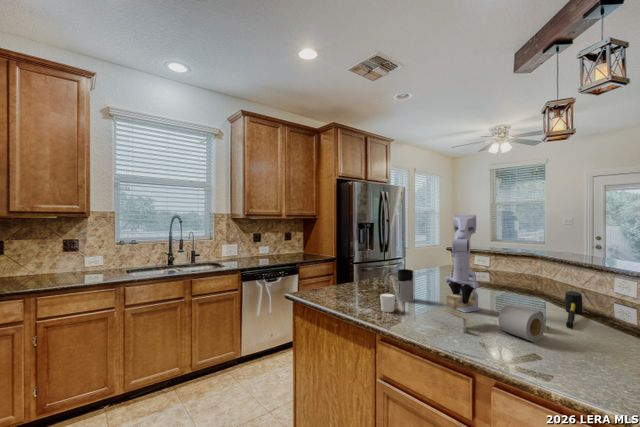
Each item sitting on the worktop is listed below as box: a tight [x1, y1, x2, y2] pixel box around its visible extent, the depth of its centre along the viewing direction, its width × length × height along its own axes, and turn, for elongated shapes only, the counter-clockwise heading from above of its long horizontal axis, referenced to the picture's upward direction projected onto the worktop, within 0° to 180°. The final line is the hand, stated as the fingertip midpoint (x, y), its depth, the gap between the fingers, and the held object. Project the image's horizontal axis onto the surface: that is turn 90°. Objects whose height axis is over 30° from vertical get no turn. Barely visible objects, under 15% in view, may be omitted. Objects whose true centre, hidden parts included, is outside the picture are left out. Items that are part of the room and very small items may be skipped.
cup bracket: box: [430, 306, 467, 334], centre depth 123 cm, size 16×5×5 cm, turn 25°
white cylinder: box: [516, 304, 544, 318], centre depth 122 cm, size 11×8×8 cm
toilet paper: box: [498, 304, 546, 343], centre depth 111 cm, size 10×10×10 cm
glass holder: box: [385, 268, 415, 303], centre depth 159 cm, size 9×14×15 cm, turn 89°
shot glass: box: [379, 292, 396, 313], centre depth 141 cm, size 7×7×7 cm
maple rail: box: [446, 293, 475, 310], centre depth 125 cm, size 12×4×4 cm, turn 115°
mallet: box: [564, 290, 583, 330], centre depth 129 cm, size 29×6×10 cm, turn 138°
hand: (461, 302), depth 125 cm, fingers closed on maple rail, 3 cm apart
